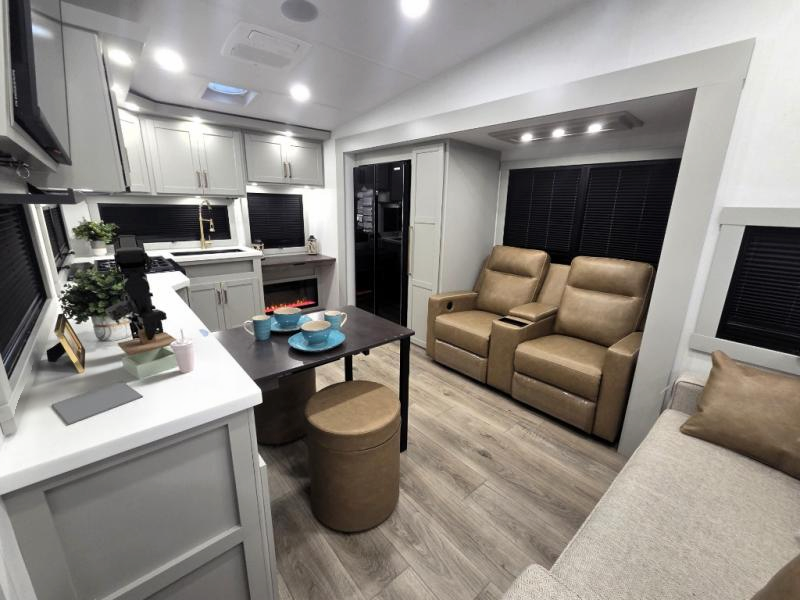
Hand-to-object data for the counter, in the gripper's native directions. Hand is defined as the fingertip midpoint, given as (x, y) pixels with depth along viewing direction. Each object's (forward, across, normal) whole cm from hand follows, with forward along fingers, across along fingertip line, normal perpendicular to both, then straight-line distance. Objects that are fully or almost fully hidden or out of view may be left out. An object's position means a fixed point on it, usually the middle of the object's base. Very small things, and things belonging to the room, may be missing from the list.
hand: (147, 338), depth 107 cm
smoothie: (+10, +11, +5) cm, 16 cm away
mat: (+10, +11, -17) cm, 23 cm away
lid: (+2, 0, 0) cm, 2 cm away
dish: (+10, 0, 0) cm, 10 cm away
